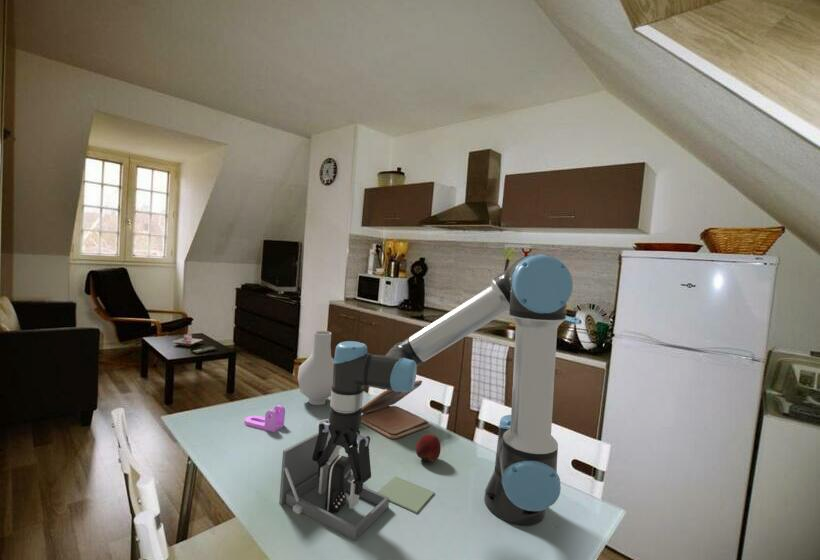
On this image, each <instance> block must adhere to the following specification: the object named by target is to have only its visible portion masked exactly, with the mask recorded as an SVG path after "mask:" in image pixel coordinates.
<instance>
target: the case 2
mask: <svg viewBox="0 0 820 560" xmlns="http://www.w3.org/2000/svg"><path fill="white" fill-rule="evenodd" d="M422 383H423V380H421V379H420V380H417V381H416V380H415V384H414V388H413V390H412V391H411V392H395V391H392V390H386V389H385V390H384V391H382V392H381V393H379V394H378V395H376V396H375V397H374V398H372V399H370V401H368V402H367V403H365V404H364V405H362V407H361V409H362V412H361V423H362V424H363V425H366V426H367V427H369V428H370V429H372V430H375V431H376V432H378V433H380V434H381V435H383V436H384V437H387V438H389V439H392V440H396V439H400V438H402V437H406V436H408V435H410V434H413V433H416V432H419V431H421V430H424V429H426V428H429V427H430V423H429V421H428V420H426V419H424V418H421V417H420V416H417V414H414V413H412V412H410V411H408V410H405V409H404V408H402V407H400V406H397V405H396V403H398V402H400V401H401V400H402V399H404V398H405V397H407V396H408V395H409V394H410V393H412V392H414V390H416V389H418V388H419V387H420V386H421V385H422Z"/></svg>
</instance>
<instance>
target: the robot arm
mask: <svg viewBox="0 0 820 560" xmlns="http://www.w3.org/2000/svg"><path fill="white" fill-rule="evenodd" d="M573 286H574V281H573V277H572V274H571V271H570V270H569V268H568V267H567V266H566V264H564V262H563V261H561V260H560V259H558V258H556V257H554V256H552V255H550V254H543V253H539V254H531V255H525V256H523V257H521V258H519V259H518V260H516V261H515V262H513V264H511V265H510V266H509V267H508V268H507V269H505V270H504V271H503V272H502V273H500V274H499V275H498V276H496V277H495V278H493V279H492V280H491V283H490V285H489V286H487V287H486V288H485V289H483V290H481V291H480V292H479V293H477V294H475V295H474V296H472V297H470V298H469V299H467V300H466V301H464V302H463V303H461V304H459V305H458V306H456V307H454V308H453V309H451V310H450V311H449V312H446V313H445V314H444V315H442V316H440V317H439V318H437V319H436V320H434V321H433V322H431V323H430V324H428V325H426V326H425V327H423V328H422V329H420V330H419V331H416V332H415V333H413V334H412V335H410V336H409V337H408V338H406V339H404V340H403V341H401V342H398V343H396V344H394V345H393V346H392V347H391V348H390V349H389V351H388V352H387V353H386V354H385V355H381V354H380V355H379V354H374V353H373V354H372V353H369V351H368V346H367V344H366V343H363V342H360V341H353V340H346V341H341V342H339V343H338V344H336V346H335V350H334V358H333V359H334V361H333V379H332V390H331V396H330V403H329V405H330V407H329V416H328V419H329V422H328V421H325V422H323V423H321V424H319V434H318V438H317V442H316V446H315V449H314V453H313V457H312V460H313V461H316V462H317V463H318V466H319V467H318V477H319V478H320V480H319V484H318V494H320V495H321V494H323V493H324V492H326V488H327V476H328V469H329V466H330V463H327V464H326V462H328V461H329V458H330V456H331V455H332V453H333V451H334V449H335V447H336V446H337V445H339V446H341V448H343V449H344V452H345V454H347V457H348V458H349V461H350V465H351V469H352V470H351V474H352V476H353V479H352V480H351V491H350V492H349V493H350V494H349V505H348V508H349V509H351V510H352V509H354V508H355V507H356V506H357V505H358V504H359V501H360V497H359V494H360V493H361V492H362V488H363V486H364V483H366V482H367V481H368V480H369V479H371V478H372V470H371V459H370V458H371V457H370V442H371V437H370V436H368V435H367V436H364V435H362V434H361V432H360V425H361V423H362V422H361V415H362V413H361V412H362V409H361V407H363V398H364V387H367V388H368V387H369V388H375V389H380V390H381V389H382V390H385V391H386V390H392V391H395V392H410V393H412V392H413V391H414V390H413V388H414V384H415V381H416V379H417V371H418V370H417V369H418V368H417V367H419V366H421V365H422V364H424V363H425V362H426V361H428V360H429V359H431V358H432V357H435V356H436V355H437V354H439V353H440V352H442V351H444V350H446V349H447V348H449V347H451V346H452V345H454V344H455V343H457V342H458V341H461V340H463V339H464V338H466V337H467V336H469V335H470V334H473V332H476V331H477V330H479V329H480V328H483V326H486V325H487V324H488V323H490V322H492V321H494V320H496V319H497V318H498V317H500V316H502V315H503V314H505V313H506V312H509V317H510V318H511V319H512V320H513V321H514V323H515V333H514V334H515V336H514V353H513V354H514V356H513V357H514V358H513V375H512V392H511V393H512V395H511V396H512V397H511V410H510V411H511V412H510V413H511V414H507V415H504V416H501V418H500V421H499V425H498V437H497V442H496V443H497V445H496V454H495V463H494V470H493V472H492V475H491V477H490V478H489V481H488V483H487V485H486V487H485V490H484V497H483V498H484V499H483V500H484V504H485V506H486V508H487V509H488V511H490V513H492V514H493V515H494V516H495V517H497V518H498V519H501V520H503V521H505V522H508V523H511V524H515V525H518V526H519V525H520V526H532V525H536V524H539V523H540V522H541V521H543V520H544V517H545V513H546V512H545V511H546V509H548V508H549V507H551V506H553V505H554V504H555V503H556V502H557V501H558V500H559V498H560V495H561V488H562V487H561V483H562V482H561V478H560V476H559V473H558V471H557V469H558V454H559V453H558V448H559V443H558V441H557V439H556V438H555V437H554V436H553V435H552V425H553V424H552V423H553V422H552V421H553V409H554V407H553V406H554V393H555V392H554V390H555V372H556V358H557V356H556V354H557V339H558V327H559V326H560V325H561V324H562V323H563V322H565V321H566V317H567V303H568V301H569V300H570V297H572V293H573V289H574V287H573ZM412 390H413V391H412ZM411 391H412V392H411ZM329 431H330V434H331V438H330V439H329V441H328V445H327V447H326V448H325V445H326V441H327V438H328V434H329ZM324 449H325V450H324Z"/></svg>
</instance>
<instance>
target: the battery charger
mask: <svg viewBox="0 0 820 560" xmlns="http://www.w3.org/2000/svg"><path fill="white" fill-rule="evenodd" d="M351 477H352V469H351V465H350V461H349V458H348V456H346V455H345V456H344V455H343V454H339V455H338V456H337V457H336V458H335V459H334V460H333V462H332V463H331V464H330V466H329V469H328V476H327V488H326V491H325V505H324V510H325V511H327V512H329V513H332V514H334V513H335V514H336V513H338V512H339V511H340V510H341V508H342V507H343V506H344V504H345V503H346V500H347V496H346V492H345V490H344V485H345V484H346V482H347V481H348V480H350V478H351Z"/></svg>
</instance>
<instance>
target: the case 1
mask: <svg viewBox="0 0 820 560" xmlns="http://www.w3.org/2000/svg"><path fill="white" fill-rule="evenodd" d="M318 434H319V432H318V433H317V432H316V433H315V434H313V435H311V436H309V437H307V438H304V439H303V440H301V441H299V442H297V443H295V444H293V445H291V446H290V447H287V448H286V449H284V450H282V461H281V473H280V476H281V477H280V485H279V486H280V487H279V503H278V504H280V505H283V504H284V503H285V505H288V506H290V507H292V512H294V513H295V514H297V515H300V514H301V513H302V514H305V515H307V516H309V517H310V518H312V519H314V520H315V521H318V522H319V523H322V524H324V526H325V525H326V526H327V527H329V528H331V529H333V530H335V531H337V532H339V533H341V534H343V535H344V536H345V537H348V538H350V539H352V540H353V541H356V540H357V539H358V538H359V537H360V536H361V535H362V534H363V533H364V532H365V531H366V530H367V529H368V528H369V527H370V526H372V524H374V522H375V521H376V520H378V518H380V516H381V515H382V514H384V513H385V512H386V511H387V509H389V505H390V501H389V497H387V496H384V495H382V494H380V493H378V491H375V490H373V489H371V488H368V487H366V486H364V485H363V488H362V492H361V493H360V494H359V498H362V499H363V500H366V501H369V502H371V503H372V504H375V507H374V508H373V509H371V510H370V511H369V512H368V513H367V514H366V515H365V516H364V517H363V518H361V519H360V521H359V522H357V523H356V524H355V525H354V524H353V523H351V522H349V521H347V520H345V519H343V518H342V517H339V516H337V515H335V514H334V513H332V512H327V511H325V508H324V509H323V508H321V507H319V506H318V505H316V504H314V503H312V502H310V501H308V500H306V499H304V498H302V496H303V495H304V494H306V493H307V492H309V491H311V489H313V488H315V487H317V486H319V480H320V478H319V477H318V467H319V466H318V463H317V462H316V461H313V460H312V457H313V453H314V449H315V446H316V442H317V438H318ZM326 447H327V441H326V445H325V448H326ZM324 450H325V449H324ZM351 481H352V480H350V479H349V480H348V481H347V482H346V484H345V485H344V491H346V492H349V493H350V491H351Z"/></svg>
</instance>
